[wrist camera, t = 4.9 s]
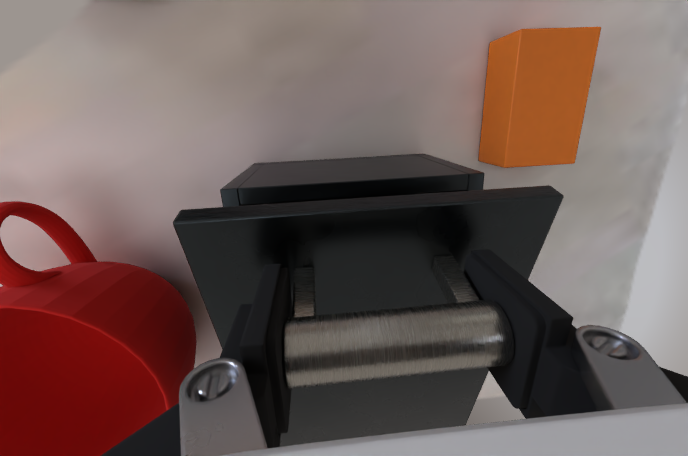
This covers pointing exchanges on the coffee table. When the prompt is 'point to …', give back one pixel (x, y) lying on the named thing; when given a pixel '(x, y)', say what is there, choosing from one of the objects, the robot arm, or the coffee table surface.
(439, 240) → the bin lid
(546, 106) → the orange block
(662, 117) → the coffee table surface
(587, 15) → the coffee table surface
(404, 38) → the coffee table surface
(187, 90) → the coffee table surface
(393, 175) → the bin
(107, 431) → the ceramic cup
